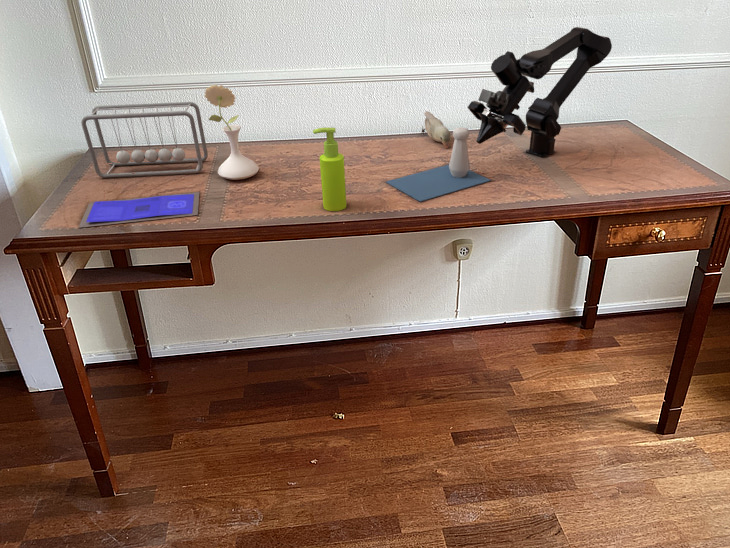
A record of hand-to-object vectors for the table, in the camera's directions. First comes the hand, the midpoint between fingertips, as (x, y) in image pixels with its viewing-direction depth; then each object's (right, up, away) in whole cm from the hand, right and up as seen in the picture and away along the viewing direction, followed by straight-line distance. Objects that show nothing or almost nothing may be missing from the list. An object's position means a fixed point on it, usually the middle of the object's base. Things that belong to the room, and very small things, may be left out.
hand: (477, 142), depth 167 cm
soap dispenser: (-39, -20, -14) cm, 46 cm away
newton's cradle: (-93, -5, +10) cm, 94 cm away
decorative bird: (-9, +7, +27) cm, 29 cm away
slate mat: (-11, -11, -2) cm, 16 cm away
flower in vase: (-68, -8, +5) cm, 69 cm away
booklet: (-88, -20, -13) cm, 91 cm away
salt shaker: (-5, -9, +2) cm, 10 cm away
